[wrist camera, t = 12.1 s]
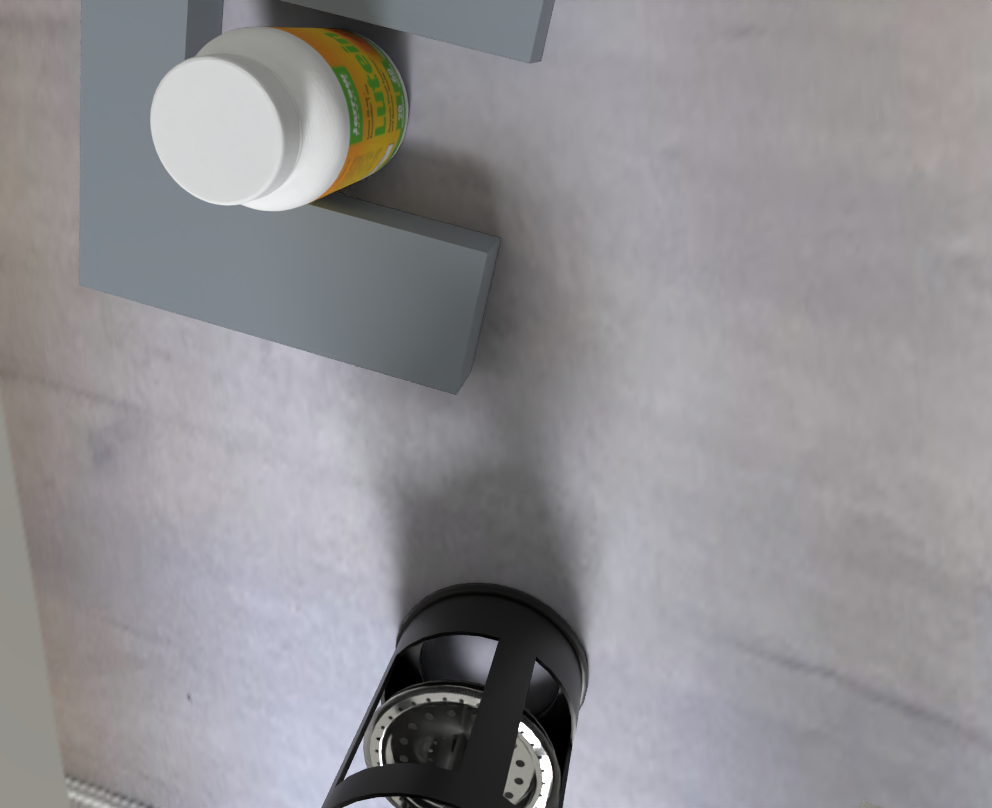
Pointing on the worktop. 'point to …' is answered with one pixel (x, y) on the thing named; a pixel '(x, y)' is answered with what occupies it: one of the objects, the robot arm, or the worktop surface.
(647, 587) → the worktop surface
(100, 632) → the worktop surface
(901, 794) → the worktop surface
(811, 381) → the worktop surface
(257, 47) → the supplement bottle
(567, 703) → the french press
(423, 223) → the notched board
